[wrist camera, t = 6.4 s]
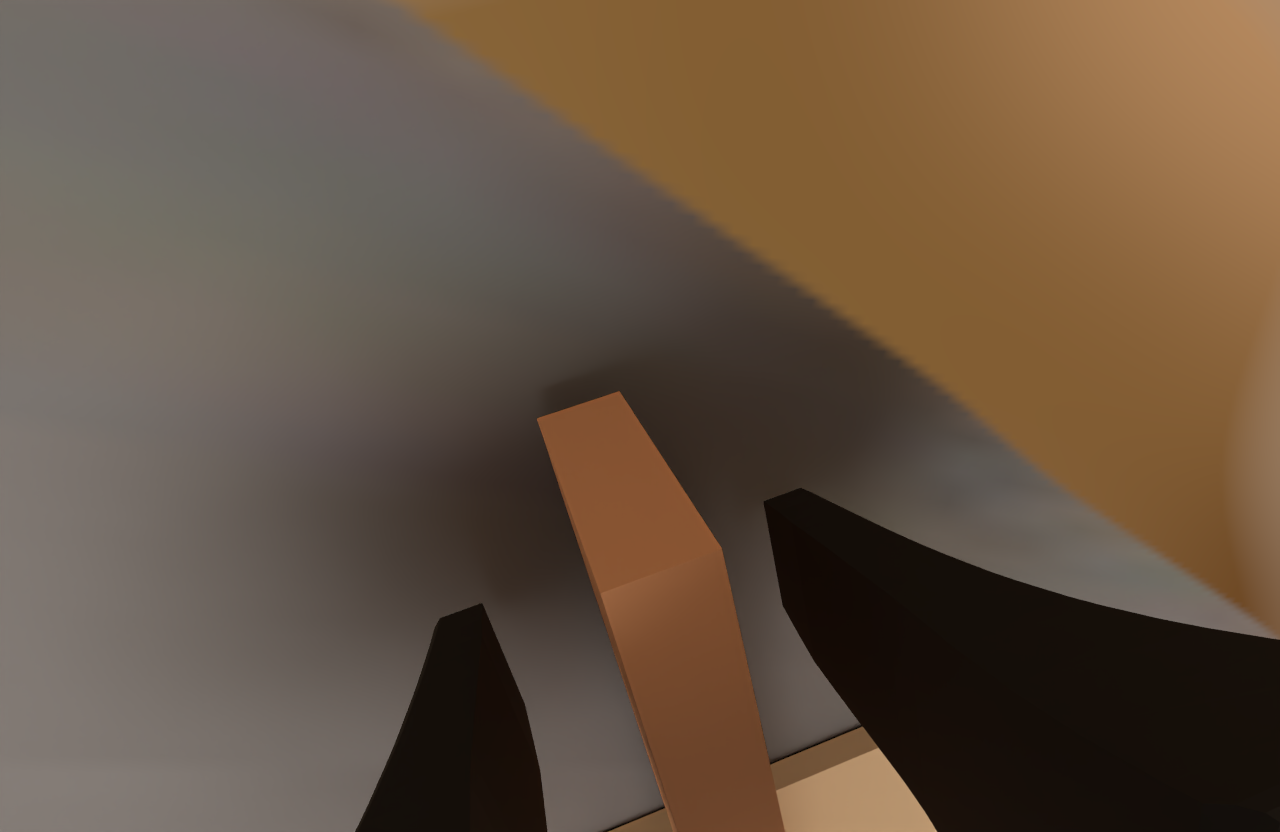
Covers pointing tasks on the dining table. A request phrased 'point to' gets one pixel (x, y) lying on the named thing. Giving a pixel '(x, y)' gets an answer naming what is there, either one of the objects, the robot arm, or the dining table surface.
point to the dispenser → (833, 792)
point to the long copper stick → (666, 618)
